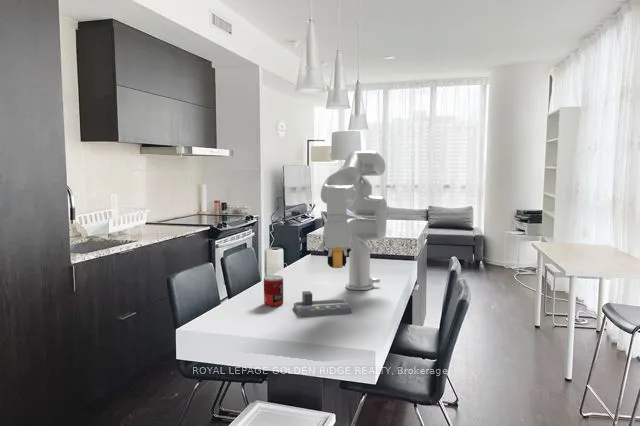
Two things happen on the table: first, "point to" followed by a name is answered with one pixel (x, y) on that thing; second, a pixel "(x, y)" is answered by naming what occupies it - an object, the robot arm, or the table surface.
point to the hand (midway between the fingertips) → (336, 265)
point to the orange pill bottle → (337, 257)
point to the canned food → (273, 290)
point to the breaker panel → (323, 307)
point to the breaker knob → (306, 298)
